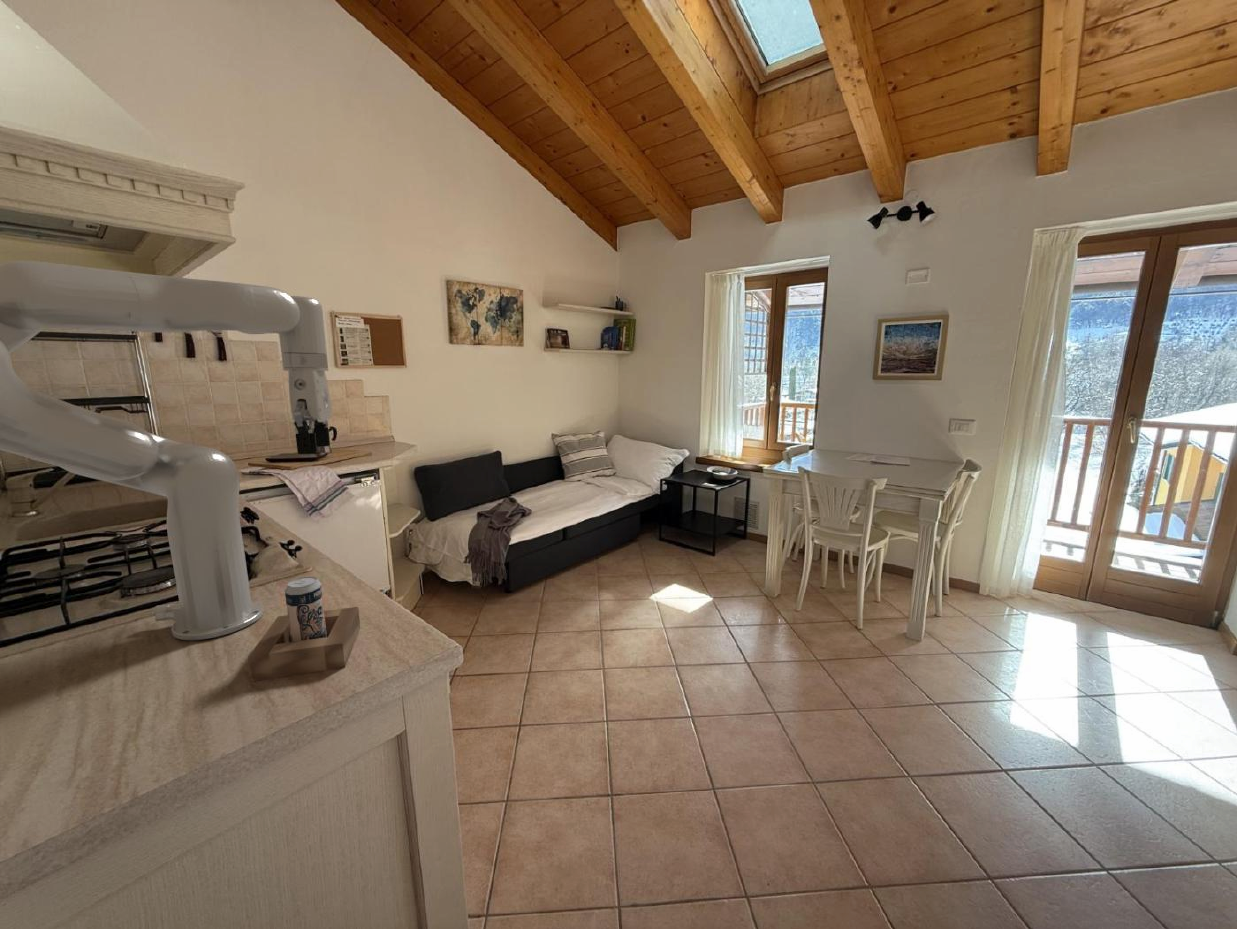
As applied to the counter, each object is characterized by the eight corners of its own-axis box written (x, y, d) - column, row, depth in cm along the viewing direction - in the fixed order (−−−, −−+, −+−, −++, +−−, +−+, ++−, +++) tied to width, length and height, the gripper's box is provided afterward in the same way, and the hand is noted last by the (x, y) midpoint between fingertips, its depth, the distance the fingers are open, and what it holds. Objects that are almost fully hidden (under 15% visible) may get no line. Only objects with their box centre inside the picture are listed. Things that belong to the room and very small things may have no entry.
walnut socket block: (252, 681, 71) (248, 656, 70) (280, 638, 82) (278, 616, 81) (345, 667, 74) (342, 643, 74) (360, 628, 86) (358, 606, 85)
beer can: (311, 662, 76) (302, 589, 73) (285, 658, 76) (276, 586, 74) (335, 645, 80) (327, 576, 78) (310, 642, 81) (302, 574, 79)
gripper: (315, 363, 89) (324, 456, 92) (337, 363, 105) (345, 443, 108) (266, 362, 86) (278, 458, 90) (297, 363, 102) (306, 444, 106)
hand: (314, 449), depth 99 cm, fingers open, 9 cm apart
